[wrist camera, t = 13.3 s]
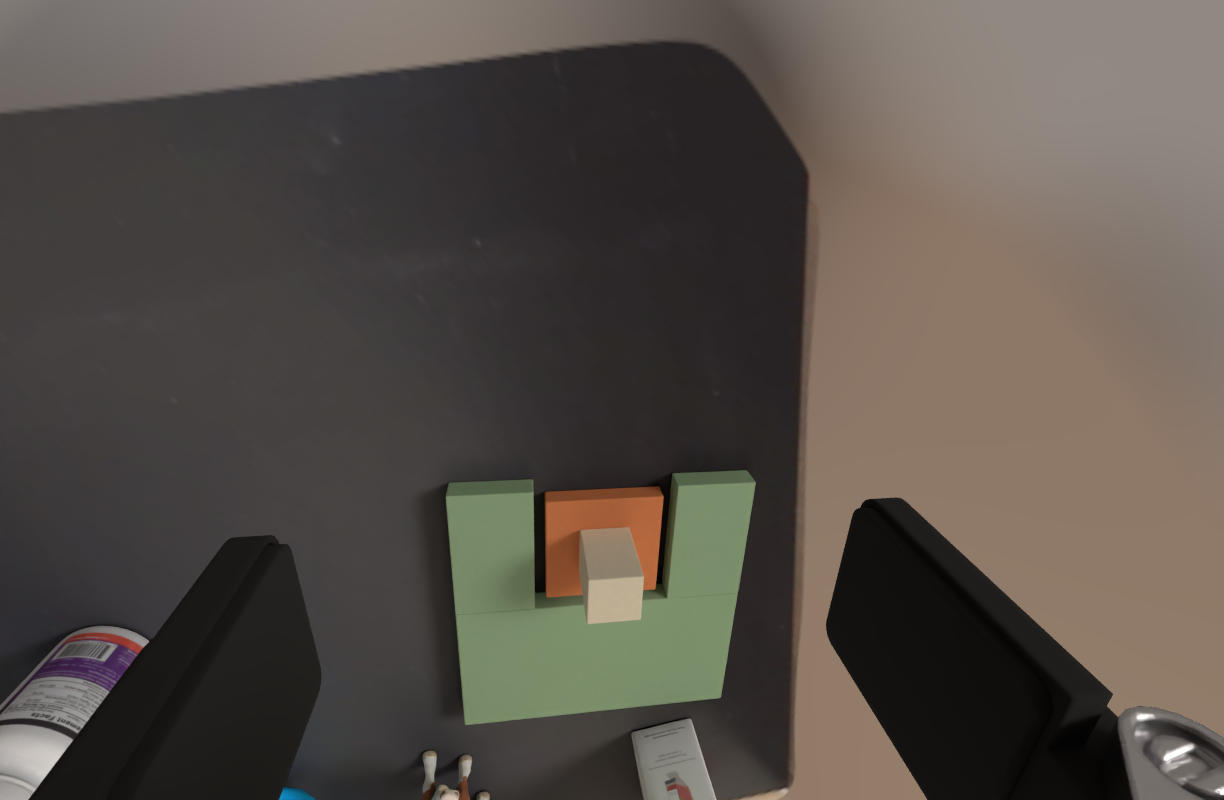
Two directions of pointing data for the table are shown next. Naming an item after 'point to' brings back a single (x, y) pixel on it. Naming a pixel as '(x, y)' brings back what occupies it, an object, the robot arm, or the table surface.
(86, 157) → the table surface
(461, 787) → the bull figurine
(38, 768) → the pill bottle
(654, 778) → the ink box
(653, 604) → the green mat
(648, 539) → the terracotta pad
